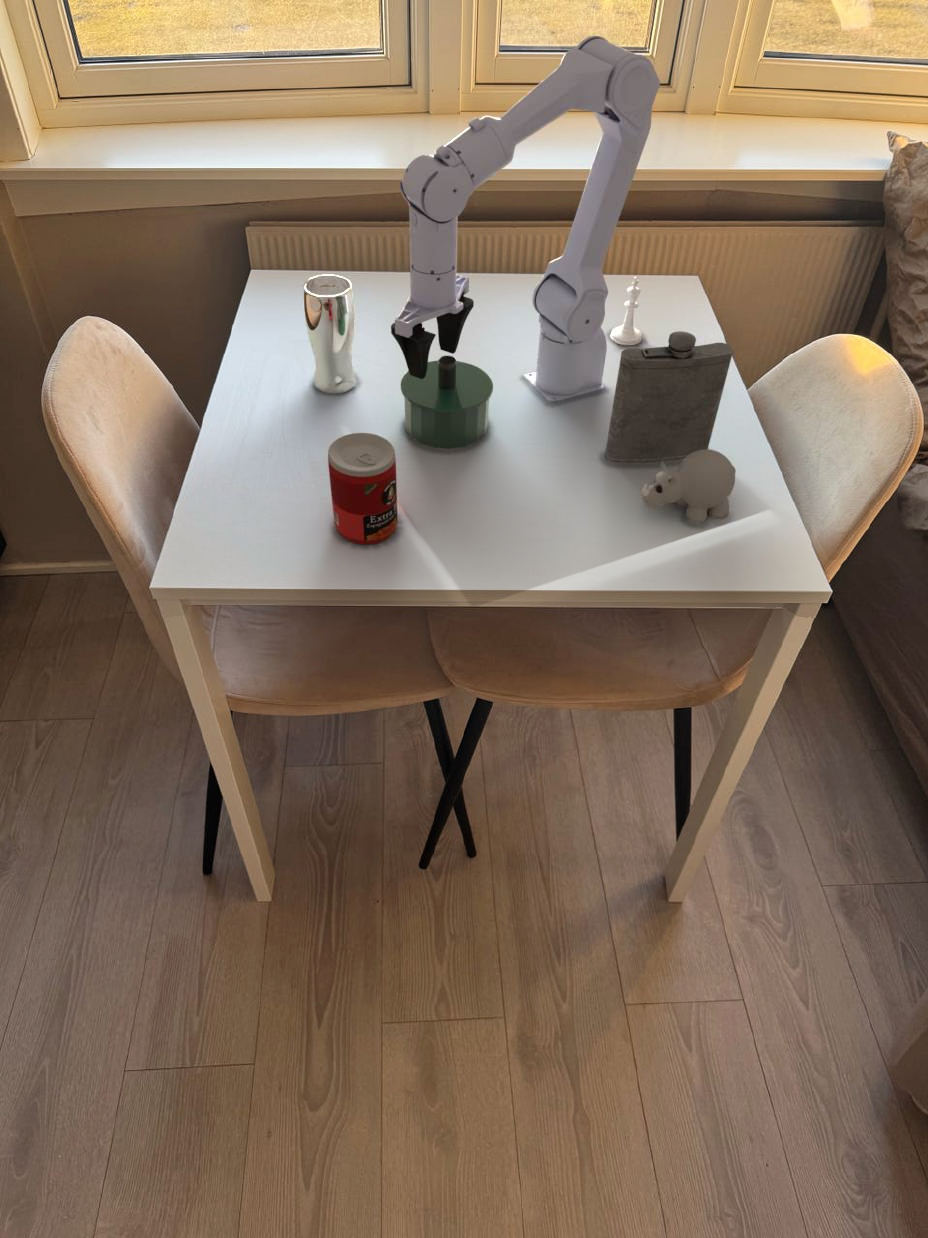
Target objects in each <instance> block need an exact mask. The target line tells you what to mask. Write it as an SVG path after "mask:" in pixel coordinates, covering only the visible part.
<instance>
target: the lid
mask: <svg viewBox="0 0 928 1238" xmlns="http://www.w3.org/2000/svg"><path fill="white" fill-rule="evenodd" d="M400 391H401V394H402V396H403V398H404V397H405V398H406V399H407V400H408V401H409V402H410V403H411V404H413V405H415V406H417V407H419V408H421V409H424V410H428V411H432V412H438V413H458V412H464V411H468V410H472V409H474V408H477V407H479V406H481V405H482V404H484V403H485V402H486V401H487V400H488V399H489V400H490V398H491V397H492V395H493V393H494V392H493V391H494V383H493V380H492V377H491V376H490V375H489V373H487V372H486V371H485V370H484V369H482V368H480V367H479V366H476V365H474V364H472V363H468V362H465V361H460V360H457V358H455V356H452V355H441V356H440V357H439V358H438V359H437V360H431V361H428V366H427V373H426V376H425V378H423V379H420V378H417V377H414V376H411V375H410V373H409V370H407V371H406V372H405V374H403V376H402V378H401V380H400Z"/></svg>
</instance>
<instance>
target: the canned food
mask: <svg viewBox="0 0 928 1238" xmlns="http://www.w3.org/2000/svg"><path fill="white" fill-rule="evenodd" d="M396 459H397V457H396V451H395V447H394V445H393V444H392V443H391V441H389V440H388V439H387V438H384V437H383V436H380V435H378V434H375V433H369V432H353V433H349V434H345V435H342V436H340V437H338V438H336V439H335V440H334V441H332V443H331V444H330V445H329V446H328V450H327V462H328V463H327V464H328V474H329V485H330V494H331V504H332V513H333V523H334V527H335V528H336V531H337V532H338V533H339V535H340V536H341V537H342V538H344V539H345V540H347V541H349V542H351V543H354V544H360V545H374V544H378V543H382V542H384V541H386V540H387V539H389V538H391V536H393V534H394V533H395V531H396V528H397V526H398V491H397V490H398V489H397V460H396Z"/></svg>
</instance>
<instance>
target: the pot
mask: <svg viewBox="0 0 928 1238" xmlns="http://www.w3.org/2000/svg"><path fill="white" fill-rule="evenodd" d="M403 403H404V404H403V407H404V408H403V409H404V428H405V432H406V433H407V434H408V435H409V437H410V438H411V439H413V440H414V441H416V442H417V443H419V444H421V445H423V446H427V447H430V448H434V449H447V450H451V449H458V448H465V447H467V446H470V445H472V444H474V443H477V442H478V441H480V439H481V438H483V437H484V436H485V435H486V432H487V430H488V427H489V407H490V398H489V399H488V400H487V401H486V402H485V403H484V404H482V405H481V406H479V407H477V408H474V409H472V410H468V411H464V412H458V413H438V412H432V411H428V410H424V409H421V408H419V407H417V406H415V405H413V404H411V403H410V402H409V401H408V400H407V399H406V398H405V397H404V396H403Z"/></svg>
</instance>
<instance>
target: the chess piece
mask: <svg viewBox="0 0 928 1238" xmlns="http://www.w3.org/2000/svg"><path fill="white" fill-rule="evenodd" d="M638 278H639V277H638V276H634V277H633V281H632V282H631V284H630V286H629V287H628V288H627V289H626V292H627V298H628V300H626V301H625V303H624V305H623V306H624V307H625V308H627V310H626V312H625V316H624V320H623V323H622V324H621V325H620V326H617V327H614V328H613V329H612V330H611V333H610V339H611V340H612V342H614V343H616V344H618V345H622V346H634V345H638V344H640V343H641V341H642V332H641V331H640V330H639V329H637V328H636V327H634V313H635V309H637V308H638V307H639V303H638V302H637V300H638V297H639V296H640V293H641V289H640V288H639V287H637V286H638V284H639V281H640V280H639V279H638Z"/></svg>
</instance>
